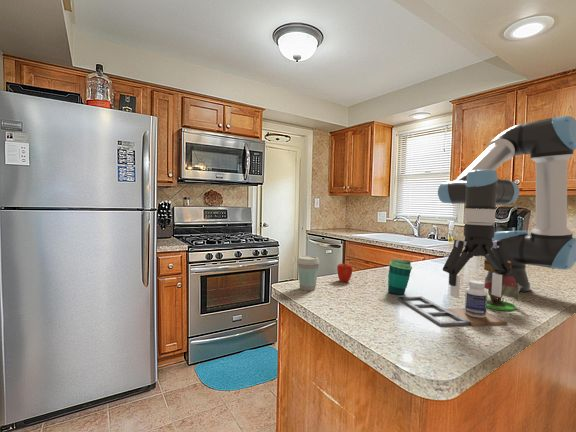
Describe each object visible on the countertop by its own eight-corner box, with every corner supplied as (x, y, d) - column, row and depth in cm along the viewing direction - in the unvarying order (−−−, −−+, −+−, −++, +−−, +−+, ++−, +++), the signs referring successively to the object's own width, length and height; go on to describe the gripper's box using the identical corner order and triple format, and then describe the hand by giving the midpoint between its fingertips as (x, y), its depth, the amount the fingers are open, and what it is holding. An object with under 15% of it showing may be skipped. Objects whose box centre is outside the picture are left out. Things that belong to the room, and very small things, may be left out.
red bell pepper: (352, 280, 129) (353, 262, 129) (351, 283, 123) (351, 265, 123) (337, 278, 131) (338, 261, 131) (335, 282, 125) (336, 264, 125)
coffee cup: (318, 292, 110) (319, 260, 109) (294, 291, 111) (295, 258, 111) (319, 286, 118) (320, 256, 118) (297, 285, 120) (298, 255, 119)
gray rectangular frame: (421, 298, 106) (421, 296, 105) (470, 325, 83) (470, 322, 83) (397, 299, 104) (397, 297, 104) (440, 326, 81) (440, 323, 81)
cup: (388, 288, 117) (389, 258, 117) (410, 291, 114) (412, 260, 114) (387, 294, 109) (388, 261, 109) (411, 297, 107) (412, 263, 106)
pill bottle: (489, 319, 85) (491, 285, 85) (468, 317, 86) (470, 283, 86) (481, 312, 91) (483, 280, 90) (461, 310, 92) (463, 279, 91)
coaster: (477, 310, 95) (477, 307, 95) (507, 324, 84) (507, 321, 84) (445, 311, 93) (445, 308, 93) (471, 325, 82) (471, 322, 82)
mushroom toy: (505, 314, 92) (508, 265, 91) (467, 301, 103) (469, 258, 103) (529, 310, 96) (532, 263, 96) (490, 298, 108) (492, 256, 107)
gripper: (505, 223, 93) (502, 291, 94) (431, 222, 89) (428, 293, 90) (528, 225, 86) (524, 299, 86) (448, 224, 82) (445, 301, 83)
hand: (475, 296), depth 88 cm, fingers open, 13 cm apart
